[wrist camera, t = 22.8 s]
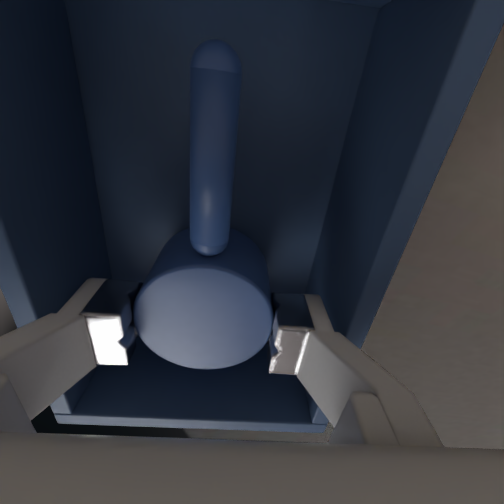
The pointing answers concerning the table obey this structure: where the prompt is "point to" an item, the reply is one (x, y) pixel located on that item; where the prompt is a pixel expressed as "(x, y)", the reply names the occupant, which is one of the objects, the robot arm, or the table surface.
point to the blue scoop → (208, 241)
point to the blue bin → (245, 173)
